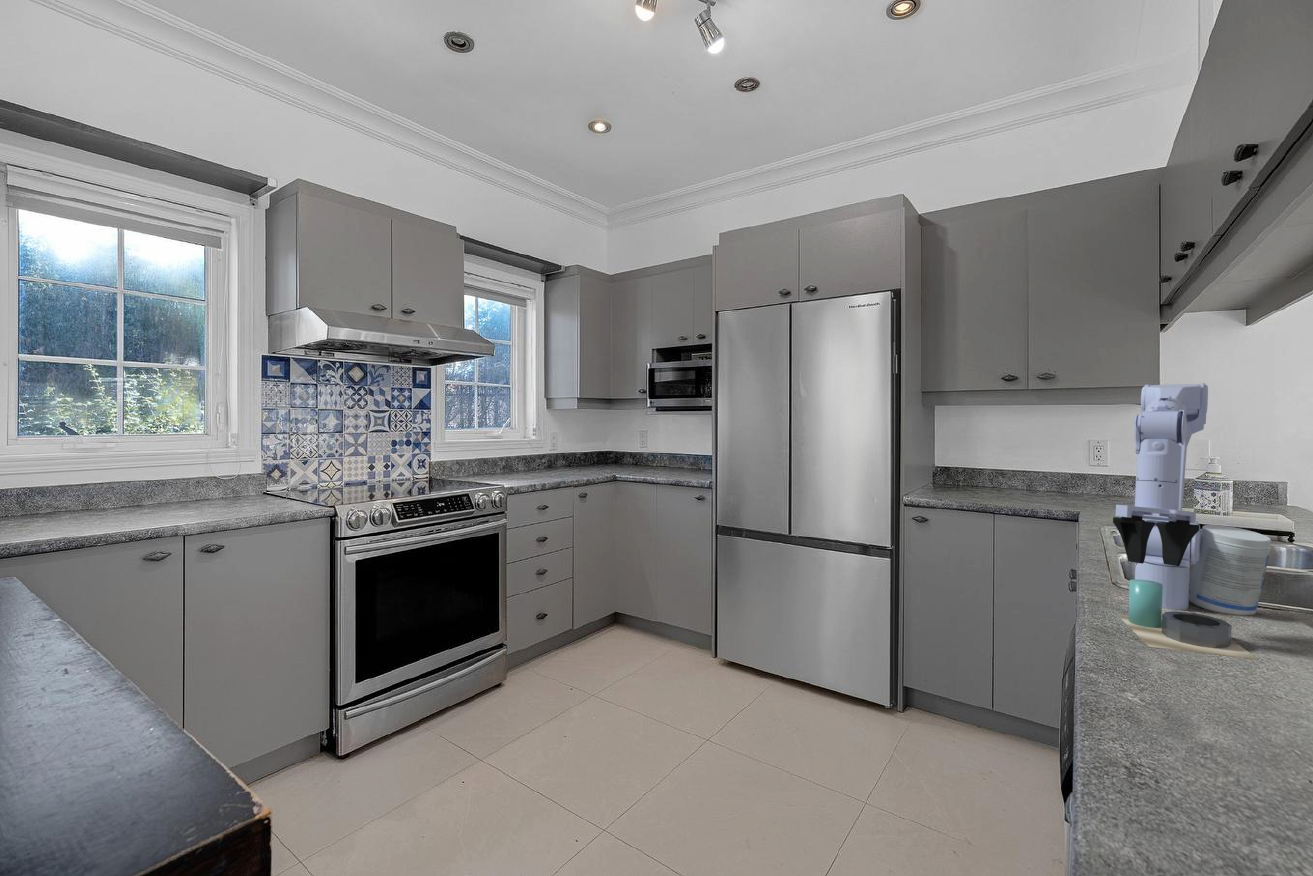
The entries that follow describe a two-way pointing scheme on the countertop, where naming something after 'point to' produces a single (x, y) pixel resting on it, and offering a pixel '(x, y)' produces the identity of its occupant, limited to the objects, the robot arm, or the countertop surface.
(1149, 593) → the teal plug
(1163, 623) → the grey faceted ring
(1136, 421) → the robot arm
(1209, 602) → the supplement tub
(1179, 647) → the pale board
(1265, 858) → the countertop surface
